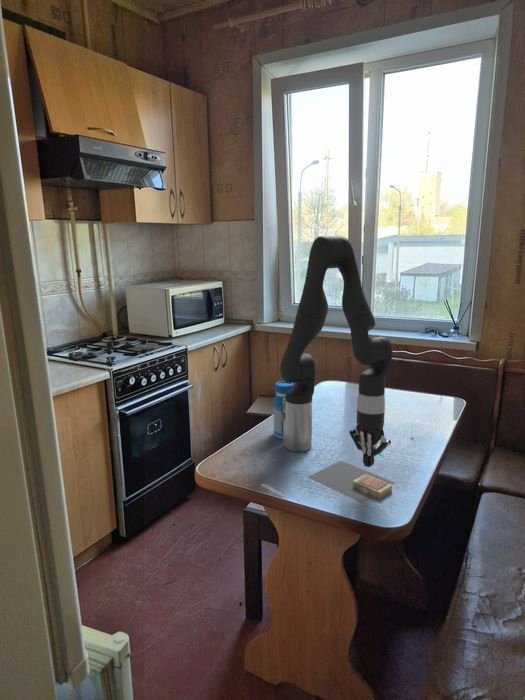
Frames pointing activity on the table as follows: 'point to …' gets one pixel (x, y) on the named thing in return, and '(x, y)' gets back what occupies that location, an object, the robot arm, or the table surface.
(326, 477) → the rubber mat
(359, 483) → the maple picture frame
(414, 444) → the table surface
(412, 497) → the table surface
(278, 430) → the beverage bottle
